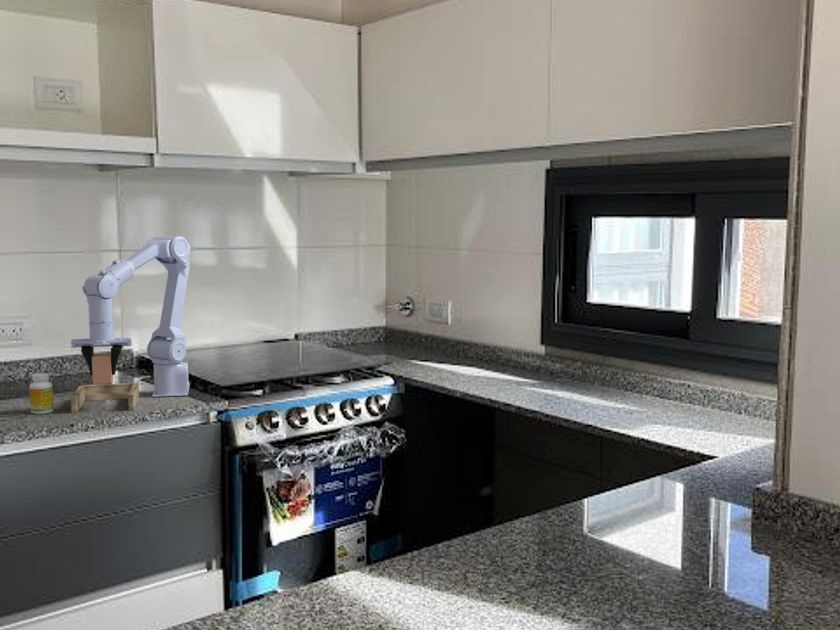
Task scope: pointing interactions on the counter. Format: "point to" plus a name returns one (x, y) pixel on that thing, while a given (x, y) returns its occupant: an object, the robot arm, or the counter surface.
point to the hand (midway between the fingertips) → (103, 374)
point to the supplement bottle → (41, 394)
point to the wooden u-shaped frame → (105, 394)
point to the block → (102, 368)
